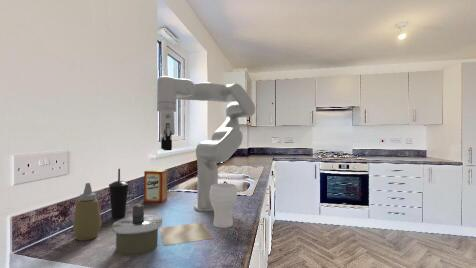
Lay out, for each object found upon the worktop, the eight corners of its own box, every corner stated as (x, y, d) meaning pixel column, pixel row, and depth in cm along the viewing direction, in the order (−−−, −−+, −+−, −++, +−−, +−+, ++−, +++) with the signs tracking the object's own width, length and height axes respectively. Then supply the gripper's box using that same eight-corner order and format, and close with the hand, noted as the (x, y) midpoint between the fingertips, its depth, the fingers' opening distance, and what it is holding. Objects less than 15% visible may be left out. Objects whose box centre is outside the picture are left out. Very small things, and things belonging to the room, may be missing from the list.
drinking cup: (120, 220, 101) (121, 170, 101) (103, 218, 102) (104, 169, 103) (132, 214, 108) (132, 167, 109) (116, 213, 110) (117, 167, 110)
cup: (240, 222, 100) (241, 184, 100) (231, 231, 90) (231, 189, 90) (216, 219, 104) (216, 182, 104) (204, 227, 93) (204, 187, 94)
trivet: (202, 223, 98) (202, 222, 98) (214, 239, 83) (214, 238, 83) (159, 228, 92) (159, 227, 92) (163, 246, 77) (163, 245, 77)
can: (139, 261, 69) (140, 235, 69) (105, 254, 73) (105, 230, 73) (166, 243, 80) (166, 221, 80) (135, 238, 84) (135, 217, 84)
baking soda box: (167, 199, 134) (167, 169, 134) (161, 202, 128) (161, 171, 128) (150, 198, 136) (150, 168, 136) (144, 201, 129) (144, 170, 129)
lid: (160, 216, 86) (160, 198, 86) (163, 230, 72) (164, 209, 72) (114, 220, 81) (115, 202, 81) (109, 237, 67) (109, 214, 68)
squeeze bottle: (81, 233, 88) (81, 181, 88) (105, 232, 88) (105, 180, 88) (67, 243, 79) (68, 185, 80) (94, 242, 80) (94, 185, 80)
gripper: (179, 105, 96) (178, 150, 96) (173, 109, 112) (173, 148, 112) (158, 104, 93) (158, 151, 93) (155, 109, 110) (155, 148, 109)
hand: (166, 149), depth 103 cm, fingers open, 9 cm apart
